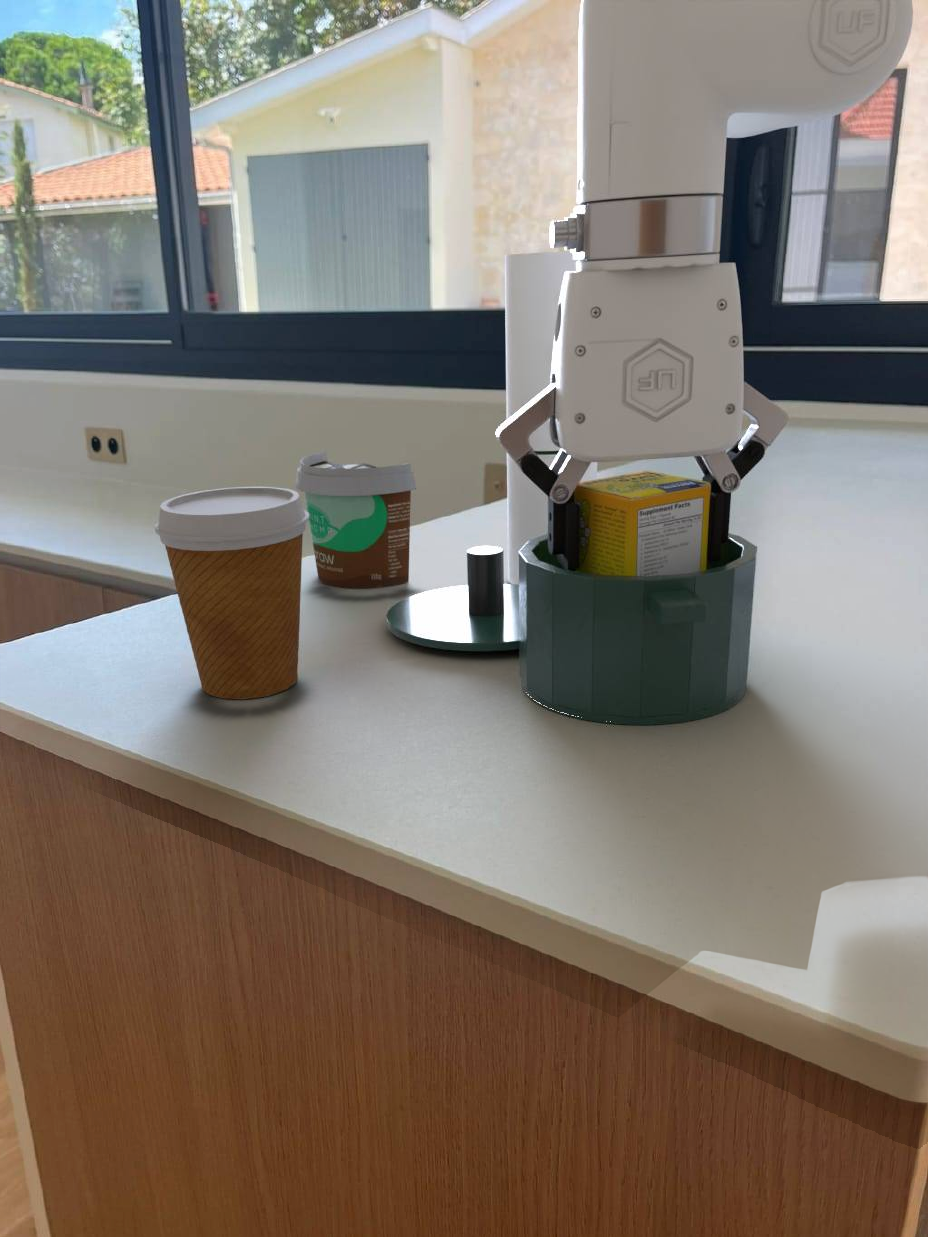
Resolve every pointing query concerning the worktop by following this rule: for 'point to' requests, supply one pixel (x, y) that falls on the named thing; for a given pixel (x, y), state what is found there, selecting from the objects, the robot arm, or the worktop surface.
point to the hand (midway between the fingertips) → (636, 559)
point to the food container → (358, 521)
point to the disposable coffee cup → (238, 584)
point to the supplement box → (643, 524)
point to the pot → (636, 638)
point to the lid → (463, 610)
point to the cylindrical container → (531, 382)
